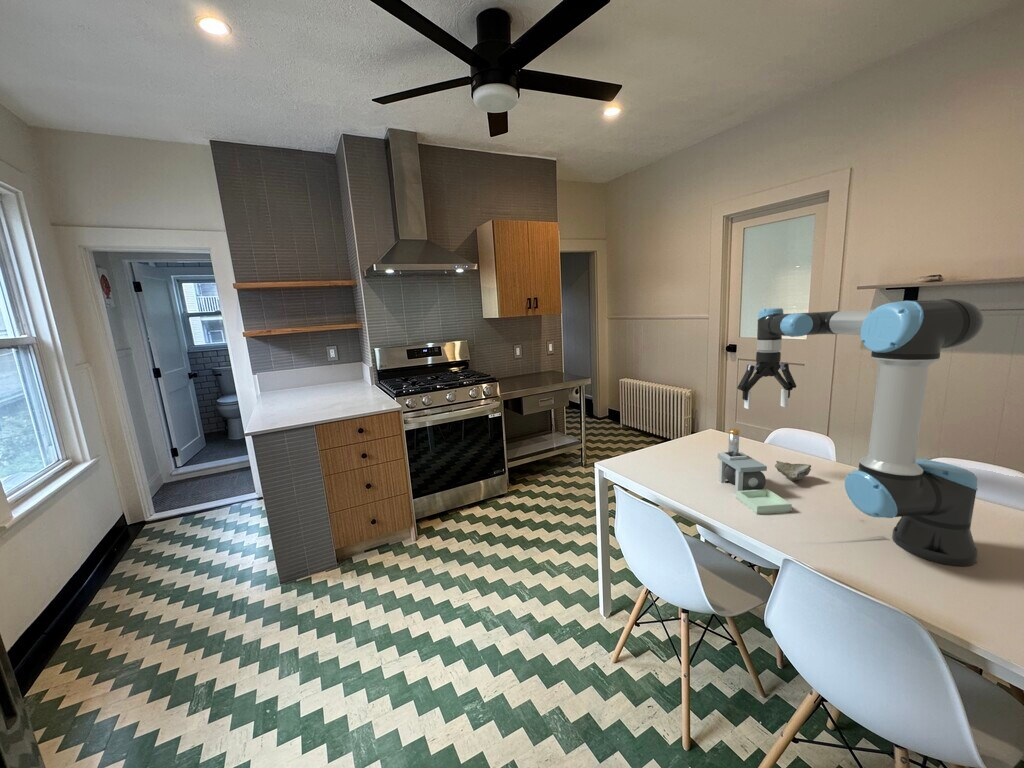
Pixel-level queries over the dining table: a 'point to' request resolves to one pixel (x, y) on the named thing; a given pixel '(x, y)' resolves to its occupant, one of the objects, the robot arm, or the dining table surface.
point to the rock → (793, 470)
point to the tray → (763, 501)
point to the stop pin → (733, 442)
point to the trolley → (741, 471)
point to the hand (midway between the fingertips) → (765, 407)
